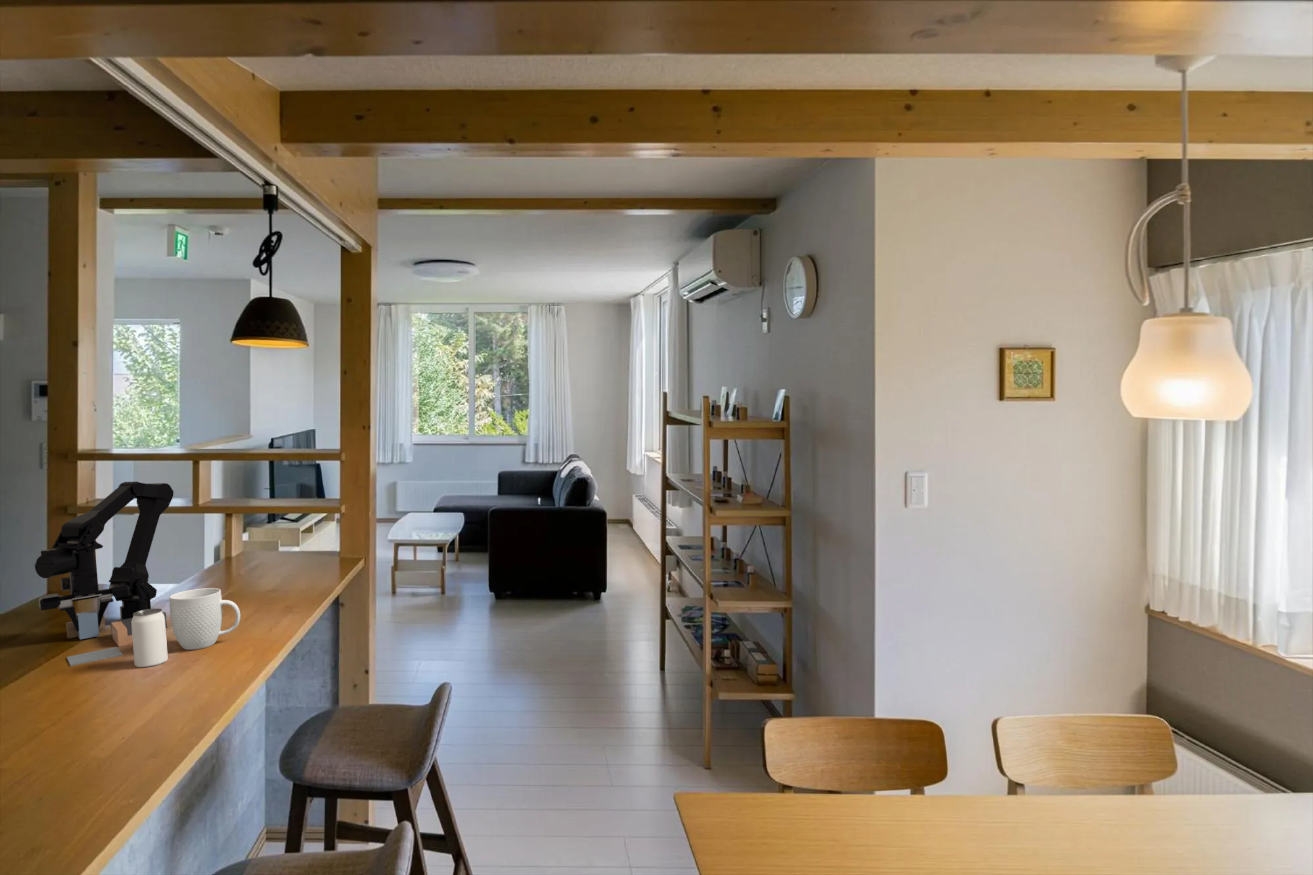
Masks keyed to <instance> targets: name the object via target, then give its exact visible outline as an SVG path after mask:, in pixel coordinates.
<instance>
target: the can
mask: <svg viewBox="0 0 1313 875" xmlns="http://www.w3.org/2000/svg"><path fill="white" fill-rule="evenodd" d="M162 611H163V609H162V608H151V609H147V610H142V611H138V612H135V613H133V615H134V616H133V618H132V621H131V624H132V635H131V636H132V647H133V659H134V660H133V661H134V666H136V667H137V668H140V669H141V668H144V669H145V668H151V667H156V666H160V665H163V664H164V663H166V662H167V660H168V658H169V655H168V644H167V631H166V630H167V628H166V627H165V616H164V614H163V613H162Z"/></svg>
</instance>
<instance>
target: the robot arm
mask: <svg viewBox="0 0 1313 875" xmlns="http://www.w3.org/2000/svg"><path fill="white" fill-rule="evenodd" d="M174 494H175V493H174V489H173V488H172V486H171V485H170V484H169V483H165V482H159V483H157V482H155V483H154V482H153V483H145V482H139V481H124V482H121V483H120V484H119V485H118V487H117V488H116V489H114V490H113V491H112V492H111V493H110V494H108V495H107V496H106V497H104V498H103V499H102V500H101V501H100V502H98V503H97V504H96V505H95V506H94V507H93V508H91V509H90V510H89V511H87V512H86V513H85V512H84V513H83V514H80V515H78V516H77V515H76V516H75V517H73V518H71V519H70V520H68V521H65V522H64V523H63V524H62V526H61V529H60V530H61V531H60V532H59V534H58V536H57V538H56V540H55V542H54V544H53V545H52V547H51V549H42V550H41V551H40V556H38V557H37V559H36V561H35V564H34V569H35V572H36V574H37V575H38V576H39V577H41V578H42V579H48V578H53V577H57V576H61V575H66V574H69V576H67V577H62V578H60V587H61V591H62V592H67V591H69V593H70V594H65V595H59V593H58V592H56V593H51V594H45V595H40V596H39V597H38V607H39V609H40V610H39V611H47V610H54V609H57V608H58V610H59V611H65V612H66V614H67V615H68V617H69V618H70V620H71V621H72V622H73V624H74V626H75V628H76V630H77V631H79V626H78V621H77V616H76V613H77V612H76V608H75V606H74V604H73V602H77V601H78V602H79V601H83V600H90V599H96V602H97V604H96V605H97V609H96V612H97V617H98V627H100V624H101V621H102V618H103V616H104V614H105V612H106V610H107V608H108V606H109V604H110V603H113V602H114V599H115V601H116V602H119V601H120V602H121V606H119V613H120V614H119V616H120V617H119V618H120V620H123V619H129V618H133V616H134V615H133V613H135V612H138V611H142V610H147V609H152V607H151V606H152V604H151V600H153V599H154V598H156V596H157V591H158V589H157V588H156V587H154V586H153V585H151V584H150V583H149V578H150V577H149V572H148V568H147V565H146V564H147V562H148V557H149V554H150V550H151V548H152V543H153V541H154V536H155V533H156V530H157V527H158V523H159V521H160V520H159V519H160V516H161V515H162V514H163V513H164V512H165V511H166V510H167V509H168V508H169V506H170V504H171V503H172V500H173V498H174ZM135 499H136V505H137V508H138V511H139V512H138V516H137V519H136V520H137V521H136V524H135V527H134V530H133V534H132V536H131V540H130V543H129V546H128V547H129V548H128V550H127V554H126V557H125V560H124V562H123V563H122V564H121V566H115V567H113V569H112V571H111V576H110V579H109V580H108V583H109V584H108V588H103V589H99V580H98V579H99V578H98V566H97V555H96V550H98V549H103V548H104V545H103V544H101V543H99V542H98V541H96V540H97V539H98V538H99V536H100V535H101V534H102V533H103V532H104V529H105V527H106V526H105V525H106V524H107V523H108V522H109V521H110V520H111V519H112V518H113V517H114V516H115V515H117V514H118V513H120V511H121V510H123V509H124V508H125V507H126V506H127V505H128V504H129V503H130V502H131V501H133V500H135ZM113 597H114V598H113Z"/></svg>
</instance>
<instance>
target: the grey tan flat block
mask: <svg viewBox="0 0 1313 875" xmlns="http://www.w3.org/2000/svg"><path fill="white" fill-rule="evenodd" d="M162 613H163V614H164V616H165V627H166V629H167V628H168V626H167V625H168V624H167V613H166V612H165V611H163V612H162ZM131 621H132V618H129V619H123V620H121V619H119V620H114V621H110V629H111V638H112V639H113V641H114V642H115V643H116V645H117V647H124V646H128V645H129V636H132V624H131Z"/></svg>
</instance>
